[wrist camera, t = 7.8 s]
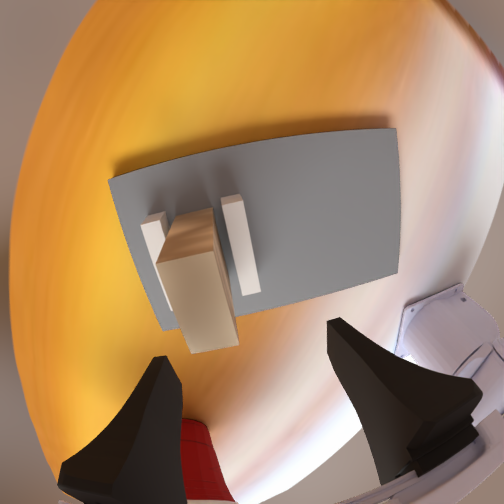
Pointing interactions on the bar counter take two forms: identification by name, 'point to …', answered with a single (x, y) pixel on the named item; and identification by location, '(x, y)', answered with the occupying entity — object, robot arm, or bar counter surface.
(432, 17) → the bar counter surface
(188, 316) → the wooden block
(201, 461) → the plastic cup
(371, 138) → the clip board
